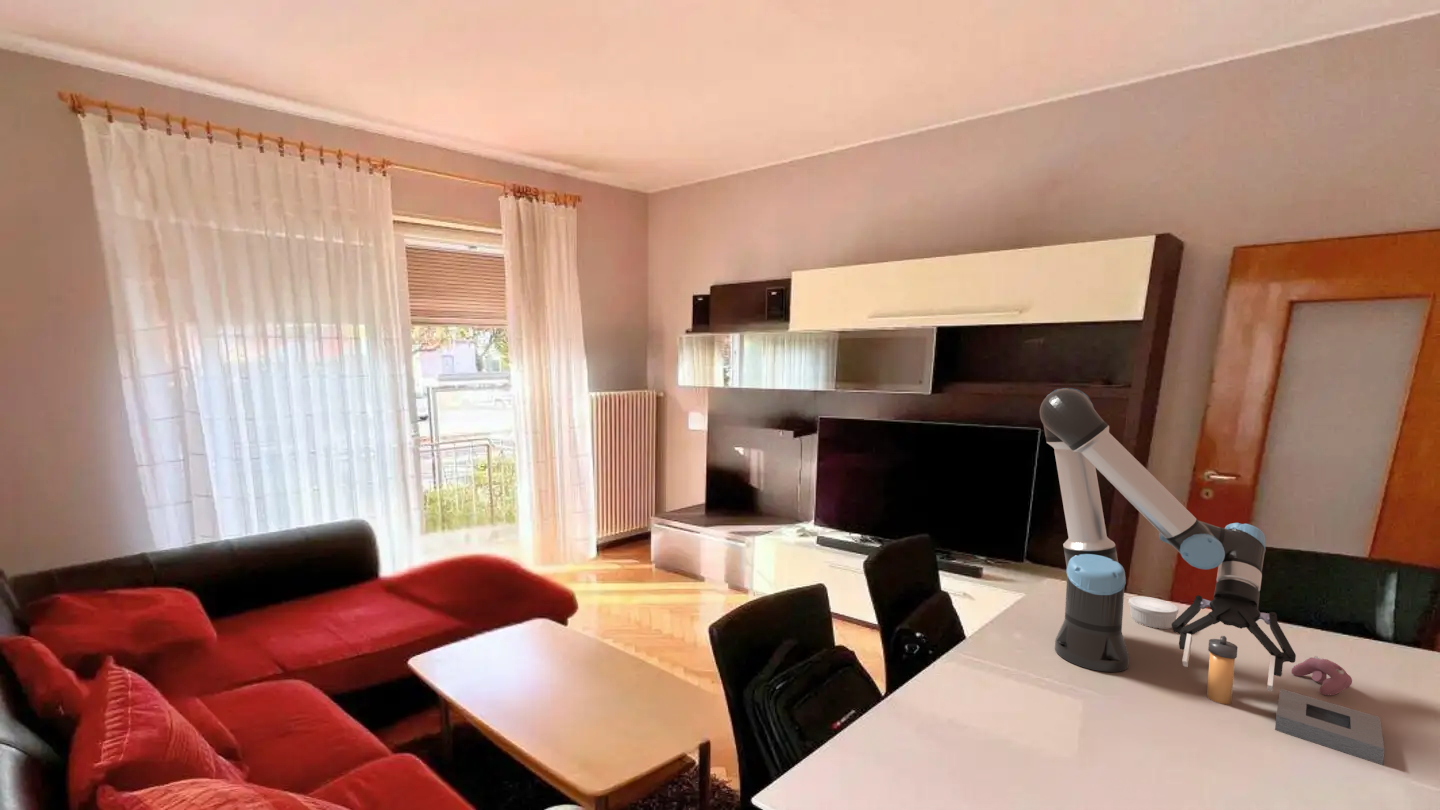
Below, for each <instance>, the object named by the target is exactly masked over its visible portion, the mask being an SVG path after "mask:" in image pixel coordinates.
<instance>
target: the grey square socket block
mask: <svg viewBox="0 0 1440 810" xmlns="http://www.w3.org/2000/svg"><path fill="white" fill-rule="evenodd" d="M1276 708H1277V709H1276V714H1275V727H1274V730H1275V731H1276V732H1277V731H1278V732H1281V733H1284V734H1287V735H1290V736H1293V737H1296V738H1300V739H1302V740H1305V741H1308V742H1311V743H1314V744H1318V745H1321V746H1324V747H1327V748H1329V749H1333V750H1336V751H1339V752H1341V753H1345V754H1347V755H1351V756H1354V757H1357V758H1361V759H1363V760H1367V761H1368V762H1369V761H1370V762H1372V763H1375V762H1376V764H1379V765H1382V766H1383V764H1384V757H1385V756H1384V754H1385V745H1384V744H1385V743H1384V738H1383V732H1382V731H1383V729H1382V724H1381V717H1380V716H1376V715H1374V714H1370V713H1366V712H1363V711H1360V710H1357V709H1353V708H1349V707H1346V706H1342V705H1339V704H1335V703H1332V702H1329V701H1324V700H1321V699H1319V698H1314V697H1311V696H1308V695H1305V694H1300V693H1297V692H1295V691H1291V690H1287V689H1284V688H1280V689H1279V695H1278V701H1277V707H1276Z"/></svg>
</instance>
